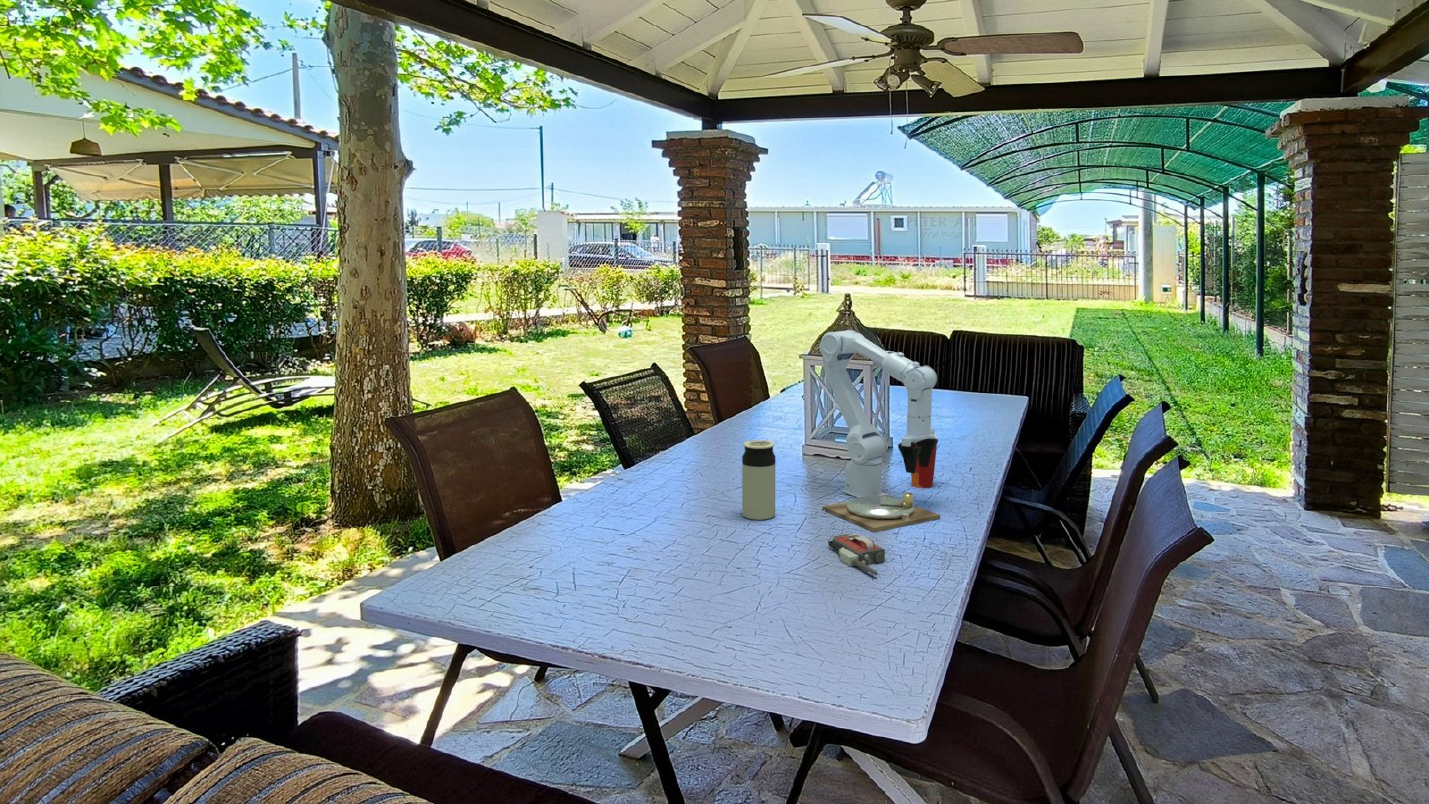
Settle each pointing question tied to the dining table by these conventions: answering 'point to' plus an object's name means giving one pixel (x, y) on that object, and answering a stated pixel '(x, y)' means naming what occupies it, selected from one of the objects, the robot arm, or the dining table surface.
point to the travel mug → (758, 480)
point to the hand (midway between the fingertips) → (917, 469)
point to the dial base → (881, 524)
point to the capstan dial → (881, 506)
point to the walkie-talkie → (857, 551)
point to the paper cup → (924, 472)
